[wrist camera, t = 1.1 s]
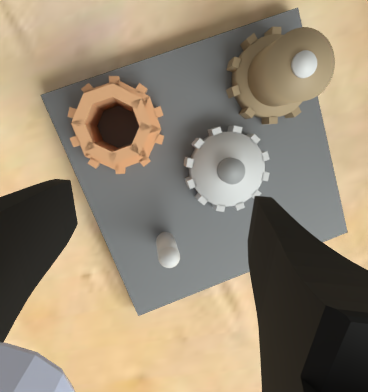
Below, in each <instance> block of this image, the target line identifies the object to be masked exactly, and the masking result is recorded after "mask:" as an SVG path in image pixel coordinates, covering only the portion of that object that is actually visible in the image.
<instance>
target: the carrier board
mask: <svg viewBox="0 0 368 392" xmlns="http://www.w3.org/2000/svg"><path fill="white" fill-rule="evenodd" d="M334 66H335V58H334V52H333V49H332V46H331V44H330V42H329V41H328V39H327V38H326V37H325V36H324V35H323V34H322V33H320V32H319V31H317V30H315V29H312V28H308V27H302V24H301V19H300V15H299V10H298V8H295V9H292V10H289V11H286V12H283V13H280V14H278V15H275V16H272V17H269V18H266V19H263V20H260V21H257V22H254V23H251V24H248V25H245V26H242V27H239V28H236V29H233V30H230V31H227V32H225V33H222V34H219V35H216V36H213V37H210V38H207V39H204V40H201V41H198V42H195V43H192V44H189V45H186V46H183V47H180V48H177V49H174V50H172V51H169V52H166V53H163V54H160V55H157V56H154V57H151V58H148V59H145V60H142V61H139V62H136V63H133V64H130V65H127V66H124V67H121V68H119V69H116V70H113V71H110V72H107V73H104V74H101V75H98V76H95V77H92V78H89V79H86V80H83V81H80V82H77V83H74V84H71V85H68V86H66V87H63V88H60V89H57V90H54V91H51V92H48V93H45V94H42V95H41V97H42V100H43V102H44V104H45V106H46V109H47V111H48V113H49V115H50V118H51V120H52V122H53V124H54V127H55V129H56V131H57V133H58V136H59V138H60V140H61V142H62V145H63V147H64V149H65V151H66V154H67V156H68V158H69V160H70V163H71V165H72V167H73V169H74V172H75V174H76V176H77V178H78V181H79V183H80V185H81V187H82V190H83V192H84V194H85V196H86V199H87V201H88V203H89V206H90V208H91V210H92V212H93V215H94V217H95V219H96V221H97V224H98V226H99V228H100V230H101V233H102V235H103V237H104V239H105V242H106V244H107V246H108V248H109V251H110V253H111V255H112V257H113V260H114V262H115V264H116V266H117V269H118V271H119V273H120V275H121V278H122V280H123V282H124V284H125V287H126V289H127V291H128V293H129V296H130V298H131V300H132V302H133V305H134V307H135V309H136V312H137V314H138V316H140V315H142V314H145V313H147V312H150V311H152V310H155V309H157V308H160V307H162V306H165V305H167V304H170V303H172V302H175V301H177V300H180V299H182V298H185V297H187V296H190V295H192V294H195V293H197V292H200V291H202V290H205V289H207V288H210V287H212V286H215V285H217V284H220V283H222V282H225V281H227V280H230V279H232V278H235V277H237V276H240V275H242V274H245V273H247V272H250V270H249V264H248V234H249V228H250V222H251V216H252V210H253V203H254V197H255V196H265V197H272V198H273V199H274V200H275V201H276V202H277V203H278V204H279V205H280V206H281V207H282V208H283V209H284V210H285V211H287V212H288V213H289V214H290V215H291V216H292V217H293V218H294V219H295V220H296V221H297V222H298V223H299V224H300V225H302V226H303V227H304V228H305V229H306V230H307V231H309V232H310V233H311V234H312V235H314V236H315V237H316V238H317V239H319V240H320V241H321V242H324V241H327V240H329V239H332V238H334V237H337V236H339V235H342V234H344V233H347V227H346V223H345V218H344V214H343V209H342V205H341V200H340V196H339V191H338V187H337V182H336V178H335V173H334V169H333V164H332V160H331V155H330V150H329V146H328V141H327V137H326V132H325V128H324V123H323V119H322V114H321V110H320V105H319V101H318V95H319V94H321V93H322V92H323V91H324V90H325V89H326V87H327V86H328V84H329V83H330V81H331V78H332V76H333V72H334ZM109 76H119V78H120V81H121V82H123V83H125V84H127V85H129V86H131V87H133V88H135V89H136V87H137V86H138V84H139V83H140V84H142V85H143V86H144V87H146V88H147V93H146V95H148V96H150V99H151V101H152V104H153V107H154V108H156V107H159V106H160V107H161V109H162V112H163V116H162V117H159V118H158V121H159V124H160V127H161V131H160V133H159V134H160V135H163V136H164V139H163V142H162V145H161V144H157V143H155V144H154V147H153V149H152V151H151V153H150V155H149V157H148V158H149V159H150V160H151V161H150V162H149V163H148V164H147V165H145V166H144V167H143V166H142V164H141V163H140V162H139V163H136V164H133V165H131V166H128V167H126V172H125V174H116V172H115V170H114V169H112V168H110V167H108V166H105V165H103V164H101V163H100V165H99V166H98V167H97V168H96V169H95V168H94V167H92V166H91V165H89V164H87V163H88V162H89V160H90V158H87V157H85V155H84V153H83V151H82V148H81V146H77V147H73V145H72V143H71V140H70V138H71V137H74V136H76V134H75V132H74V130H73V127H72V125H71V122H72V120H73V118H70V117H67V116H68V112H69V107H71V108H75V109H77V107H78V105H79V103H80V100H81V98H82V95H83V94H84V92H83V91H82V90H81V88H83V87H84V86H85V85H86V84H88V83H89V84H90V85H91V86H92V87H93V88H95V87H98V86H101V85H104V84H107V83H109ZM97 127H98V129H99V131H100V134H101V136H102V139H103V141H104V142H107V143H109V144H111V145H113V146H115V147H117V148H120V147H122V146H125V145H128V144H131V143H133V140H134V138H135V136H136V134H137V131H138V129H139V125H138V123H137V120H136V117H135V115H134V113H133V112H131V111H129V110H127V109H125V108H123V107H121V106H116V107H113V108H110V109H107V110H104V111H103V113H102V116H101V118H100V120H99V123H98V125H97Z"/></svg>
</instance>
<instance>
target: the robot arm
mask: <svg viewBox="0 0 368 392" xmlns="http://www.w3.org/2000/svg"><path fill="white" fill-rule="evenodd" d="M77 224H78V223H77V217H76V211H75V205H74V199H73V193H72V187H71V181H70V180H61V179H54V180H49V181H46V182H42V183H39V184H36V185H33V186H30V187H28V188H25V189H22V190H19V191H16V192H14V193H11V194H8V195H5V196H2V197H0V392H75V390H74V388H73V386H72V384H71V383H70V381H69V380H68V378H67V377H66V375H65V373H64V372H63V370H62V369H61V368H60V367H58V366H57V365H55V364H54V363H52V362H51V361H49V360H48V359H46V358H45V357H43V356H42V355H40V354H39V353H37V352H34V351H31V350H28V349H25V348H21V347H18V346H15V345H11V344H8V343H3V342H4V340H5V338H6V337H7V335H8V333H9V331H10V329H11V327H12V325H13V324H14V322H15V320H16V318H17V316H18V315H19V313H20V311H21V310H22V308H23V306H24V304H25V303H26V301H27V299H28V298H29V296H30V295H31V293H32V292H33V290H34V289H35V287H36V286H37V284H38V283H39V282H40V280H41V279H42V278H43V276H44V275H45V274H46V272H47V271H48V270H49V268H50V267H51V266H52V264H53V263H54V262H55V260H56V259H57V257H58V256H59V255H60V253H61V252H62V251H63V249H64V248H65V246H66V245H67V243H68V242H69V240H70V238H71V236H72V234H73V232H74V230H75V228H76V226H77ZM248 264H249V270H250V276H251V282H252V288H253V293H254V299H255V305H256V311H257V318H258V326H259V341H260V358H261V377H262V392H368V270H366V269H364V268H362V267H361V266H359V265H357V264H355V263H353V262H352V261H350V260H348V259H347V258H345V257H343V256H342V255H340V254H339V253H337V252H336V251H334V250H333V249H331V248H330V247H328V246H327V245H325V244H324V243H323V242H321V241H320V240H319V239H317V238H316V237H315V236H314V235H312V234H311V233H310V232H309V231H307V230H306V229H305V228H304V227H303V226H302V225H300V224H299V223H298V222H297V221H296V220H295V219H294V218H293V217H292V216H291V215H290V214H289V213H288V212H287V211H285V210H284V209H283V208H282V207H281V206H280V205H279V204H278V203H277V202H276V201H275V200H274V199H273V198H272V197H265V196H255V197H254V203H253V210H252V216H251V222H250V228H249V234H248Z"/></svg>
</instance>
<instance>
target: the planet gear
mask: <svg viewBox="0 0 368 392" xmlns="http://www.w3.org/2000/svg"><path fill="white" fill-rule="evenodd" d="M81 90H82V91H83V92H84V94H83V95H82V98H81V100H80V103H79V105H78V107H77V109H75V108H71V107H69V112H68V116H67V117H70V118H73V120H72V122H71V125H72V127H73V130H74V132H75V134H76V136H74V137H71V138H70V140H71V143H72V145H73V147H77V146H81V148H82V151H83V153H84V155H85V157H87V158H90V160H89V162H88V163H87V164H89V165H91V166H92V167H94V168H95V169H96V168H97V167H98V166H99V165H100V163H101V164H103V165H105V166H108V167H110V168H112V169H114V170H115V172H116V174H125V172H126V167H128V166H131V165H133V164H136V163H139V162H140V163H141V164H142V166H143V167H144V166H145V165H147V164H148V163H149V162H150V161H151V160H150V159H149V158H148V157H149V155H150V153H151V151H152V149H153V147H154V144H155V143H157V144H161V145H162V142H163V139H164V136H163V135H160V134H159V133H160V131H161V127H160V124H159V121H158V118H159V117H162V116H163V112H162V109H161V107H160V106H159V107H156V108H154V107H153V104H152V101H151V99H150V96H148V95H146V93H147V88H146V87H144V86H143V85H142V84H140V83H139V84H138V86H137V87H136V89H135V88H133V87H131V86H129V85H127V84H125V83H123V82H121V81H120V78H119V76H109V83H107V84H104V85H101V86H98V87H95V88H93V87H92V86H91V85H90V84H89V83H88V84H86V85H85V86H84V87H83V88H81ZM116 106H121V107H123V108H125V109H127V110H129V111H131V112H133V113H134V115H135V117H136V120H137V123H138V125H139V129H138V131H137V134H136V136H135V138H134V140H133V143H131V144H128V145H125V146H122V147H120V148H117V147H115V146H113V145H111V144H109V143H107V142H104V141H103V139H102V136H101V134H100V131H99V129H98V127H97V125H98V123H99V120H100V118H101V116H102V113H103V111H104V110H107V109H110V108H113V107H116Z"/></svg>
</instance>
